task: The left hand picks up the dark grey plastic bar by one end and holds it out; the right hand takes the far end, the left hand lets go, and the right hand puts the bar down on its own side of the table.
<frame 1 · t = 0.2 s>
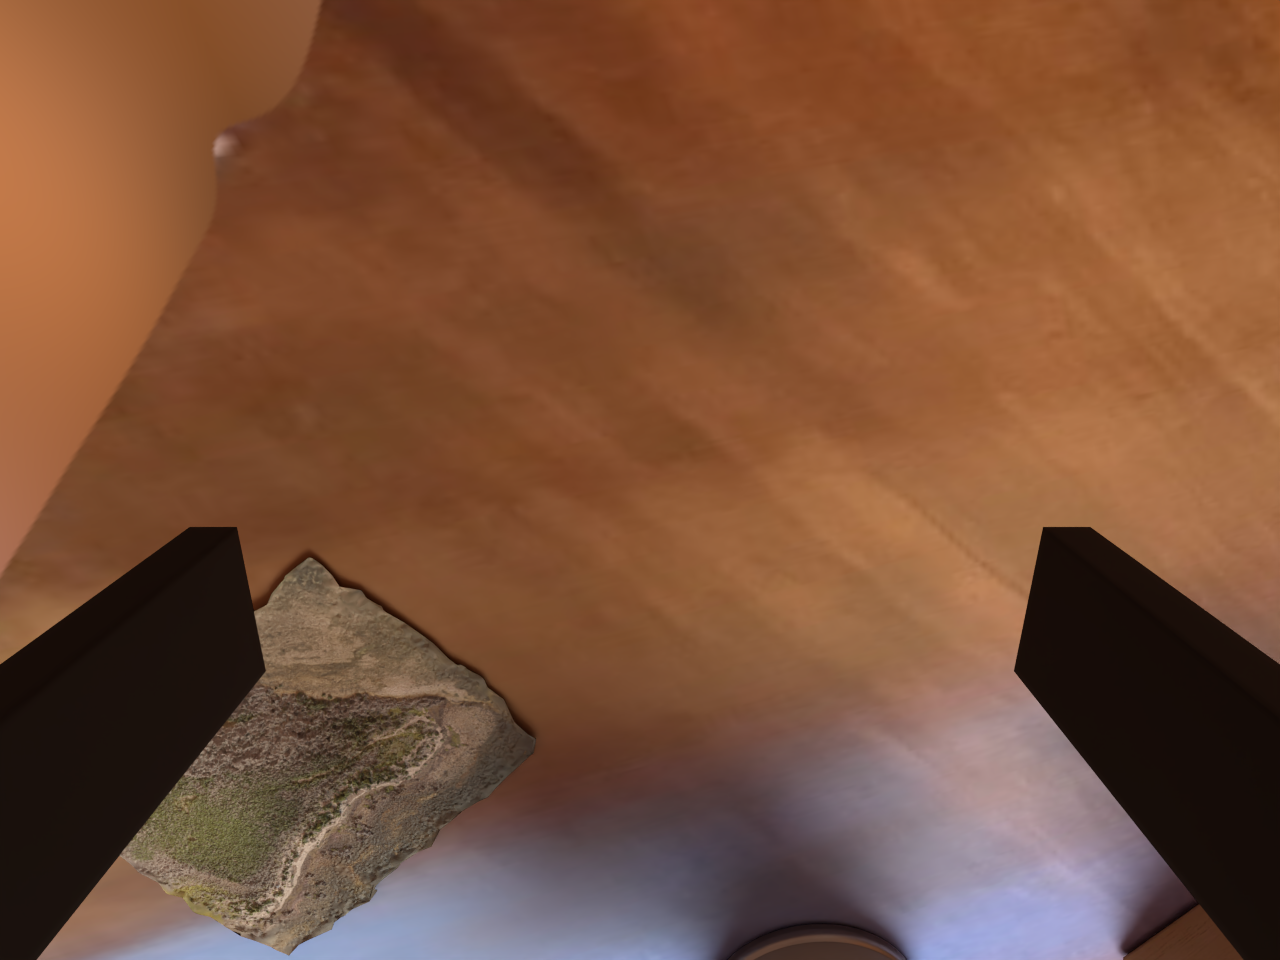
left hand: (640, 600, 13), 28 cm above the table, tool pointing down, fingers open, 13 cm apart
decorative block: (1201, 928, 53), on the table
slab: (299, 775, 49), on the table
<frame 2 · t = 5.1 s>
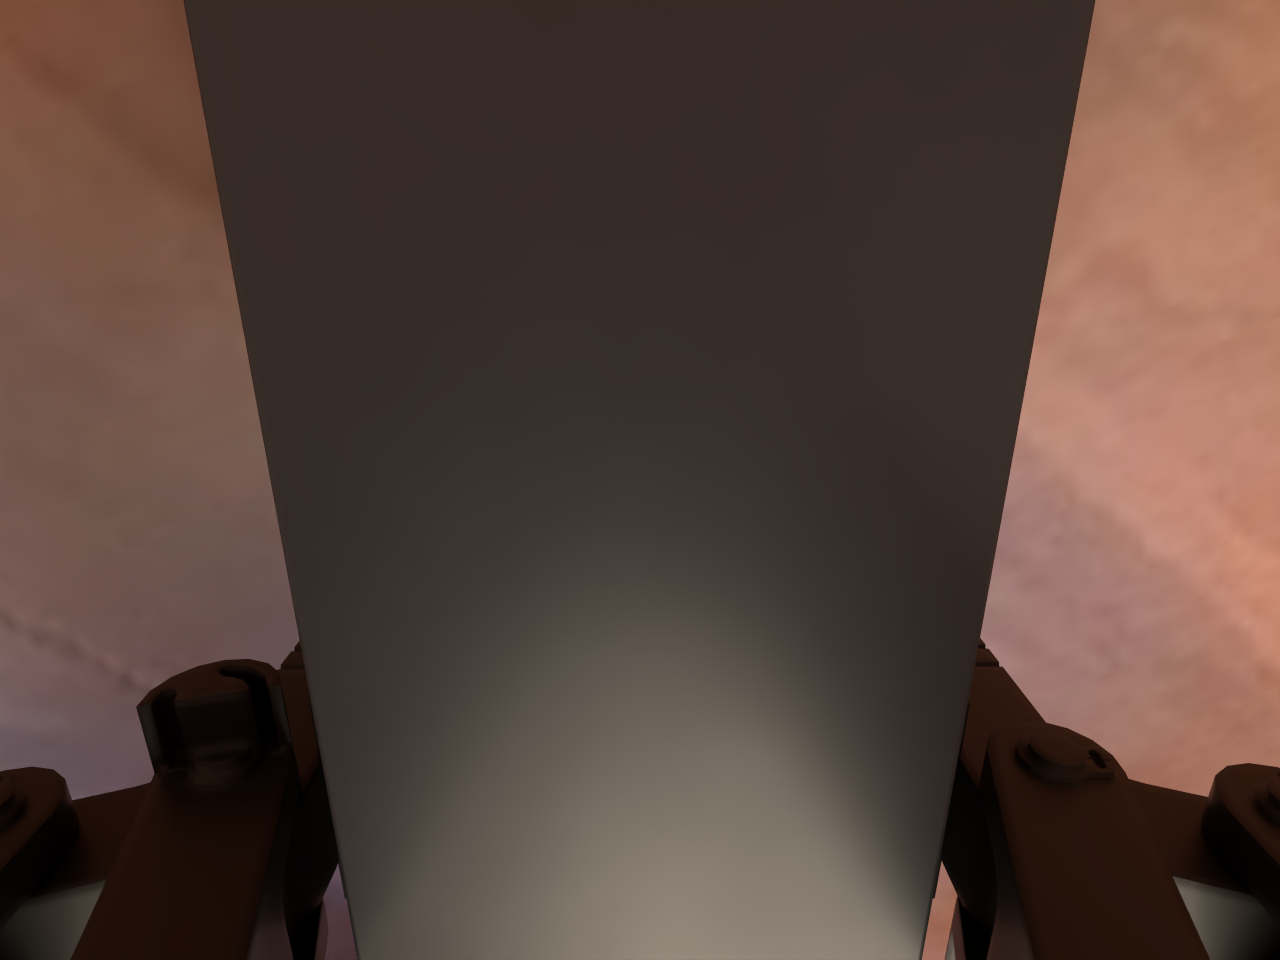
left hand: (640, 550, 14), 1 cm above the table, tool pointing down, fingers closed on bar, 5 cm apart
bar: (639, 53, 12), on the table, touching left hand
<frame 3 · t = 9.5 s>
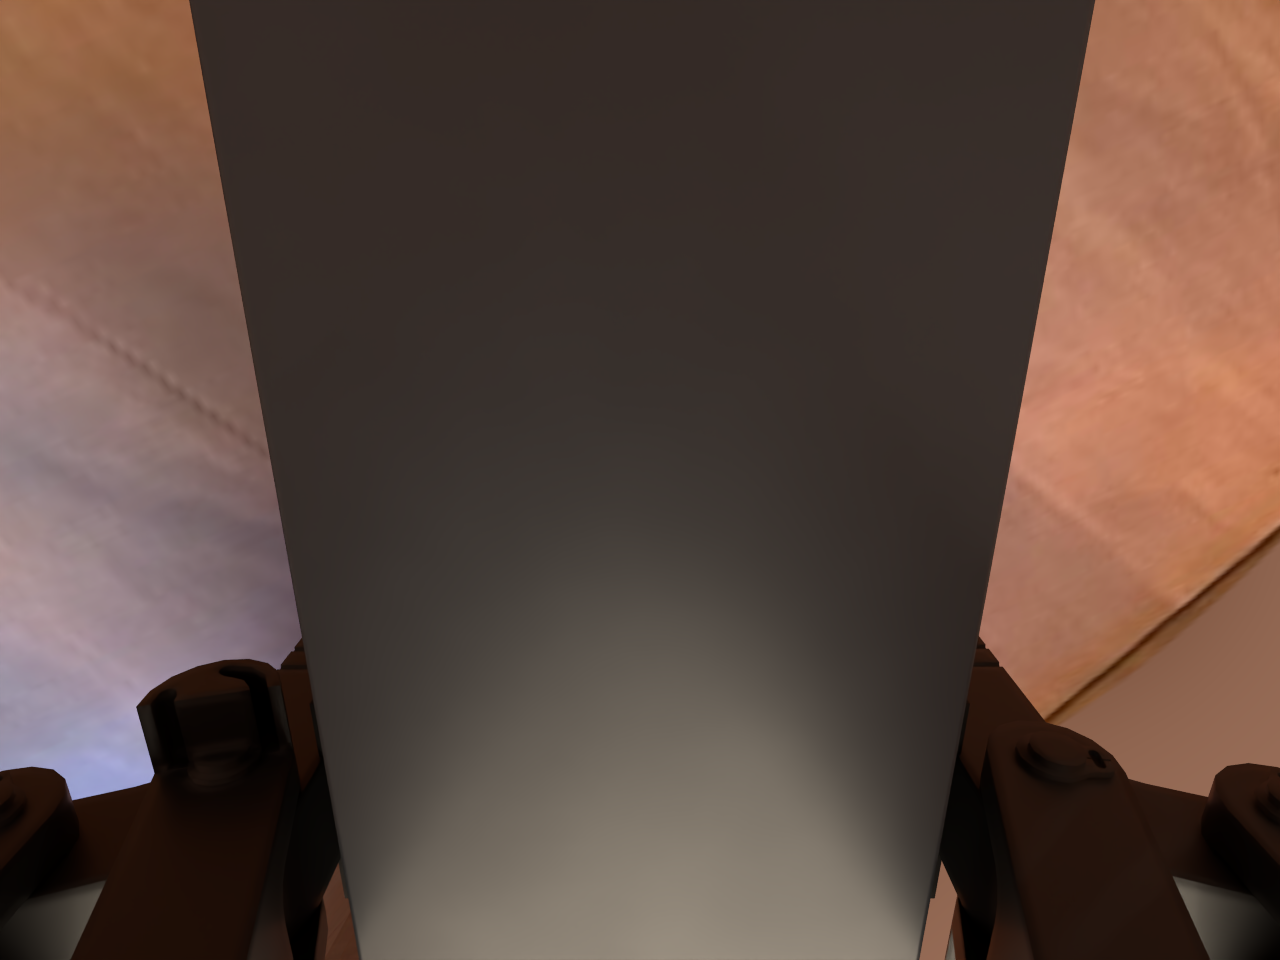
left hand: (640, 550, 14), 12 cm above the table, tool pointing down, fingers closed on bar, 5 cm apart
decorative block: (447, 824, 32), on the table
bar: (641, 53, 12), point 11 cm above the table, touching left hand, right hand
when the left hand's fingers open (12 cm above the table, at t = 10.3 s): bar stays where it is, held by the right hand.
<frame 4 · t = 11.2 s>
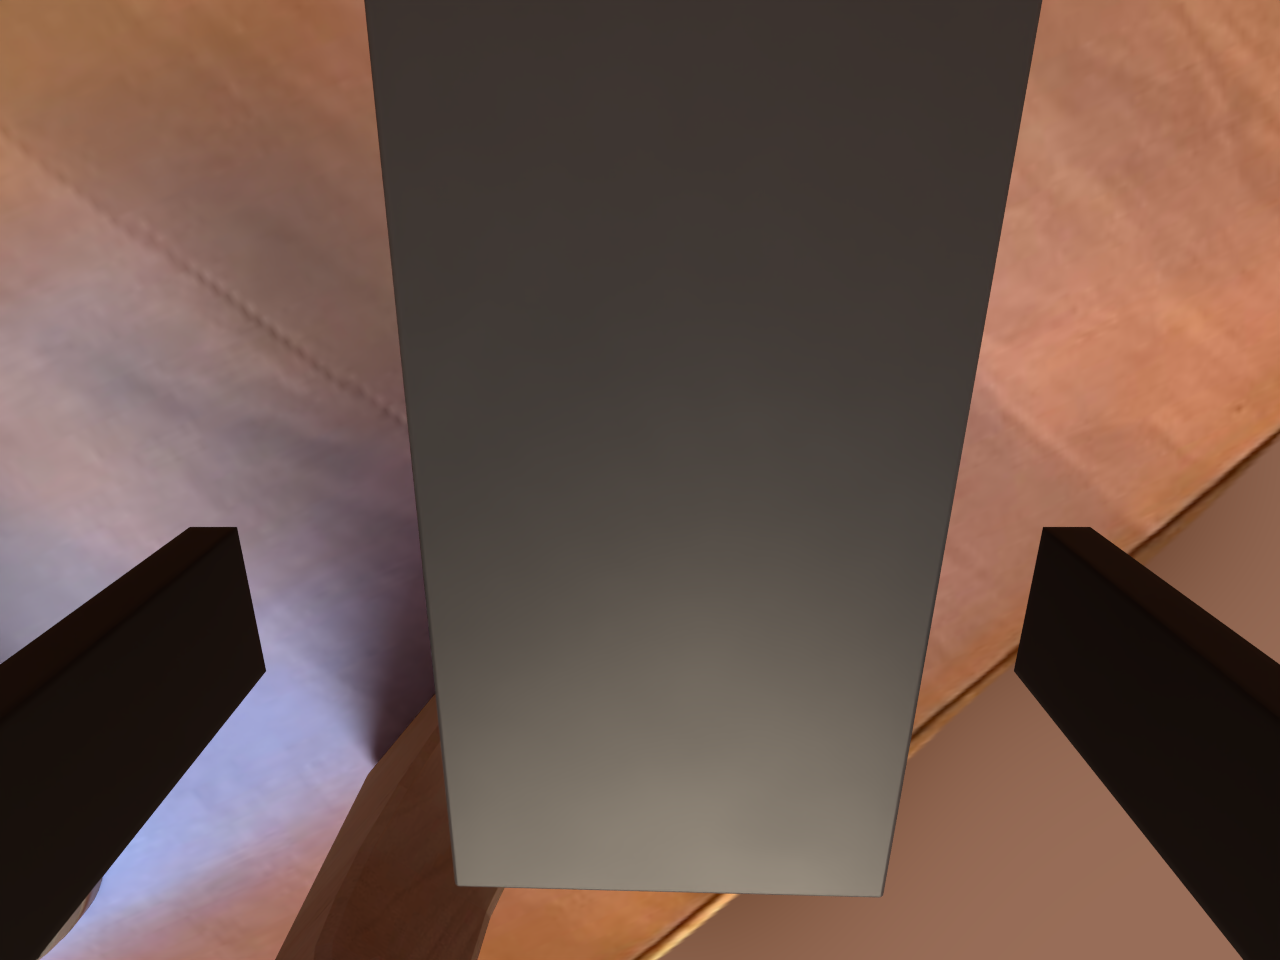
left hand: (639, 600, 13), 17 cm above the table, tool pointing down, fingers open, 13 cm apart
decorative block: (480, 727, 35), on the table
when the right hand's fingers open (4 cm above the table, at t = 17.7 s): bar stays where it is, on the table.
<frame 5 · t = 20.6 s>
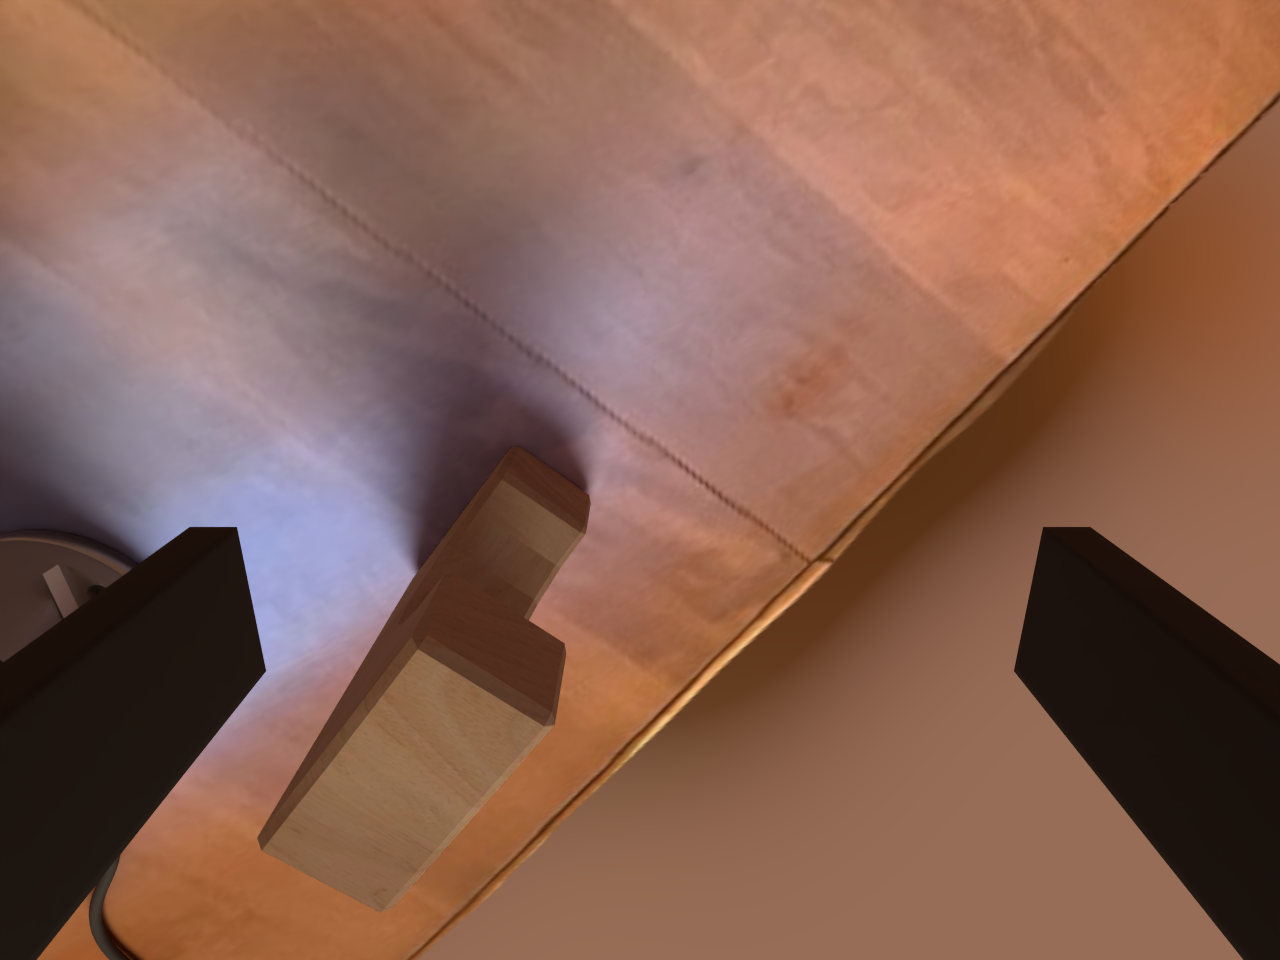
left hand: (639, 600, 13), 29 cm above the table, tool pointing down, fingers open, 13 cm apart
decorative block: (501, 537, 44), on the table
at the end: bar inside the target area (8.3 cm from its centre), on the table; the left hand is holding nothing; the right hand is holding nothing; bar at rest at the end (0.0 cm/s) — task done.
